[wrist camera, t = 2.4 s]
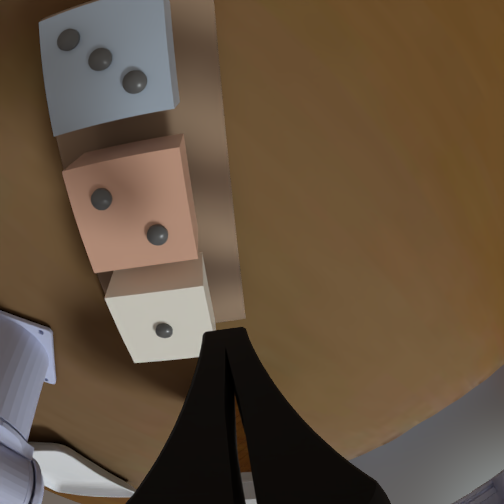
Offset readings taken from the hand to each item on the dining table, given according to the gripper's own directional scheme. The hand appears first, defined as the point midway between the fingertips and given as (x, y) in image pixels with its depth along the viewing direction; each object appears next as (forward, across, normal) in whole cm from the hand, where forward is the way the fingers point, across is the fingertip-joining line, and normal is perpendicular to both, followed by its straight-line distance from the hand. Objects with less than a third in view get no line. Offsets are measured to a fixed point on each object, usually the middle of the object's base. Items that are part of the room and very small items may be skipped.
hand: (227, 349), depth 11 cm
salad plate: (+10, +32, +38) cm, 51 cm away
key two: (+8, +3, -3) cm, 9 cm away
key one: (+8, +3, +3) cm, 9 cm away
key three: (+8, +3, -10) cm, 13 cm away
